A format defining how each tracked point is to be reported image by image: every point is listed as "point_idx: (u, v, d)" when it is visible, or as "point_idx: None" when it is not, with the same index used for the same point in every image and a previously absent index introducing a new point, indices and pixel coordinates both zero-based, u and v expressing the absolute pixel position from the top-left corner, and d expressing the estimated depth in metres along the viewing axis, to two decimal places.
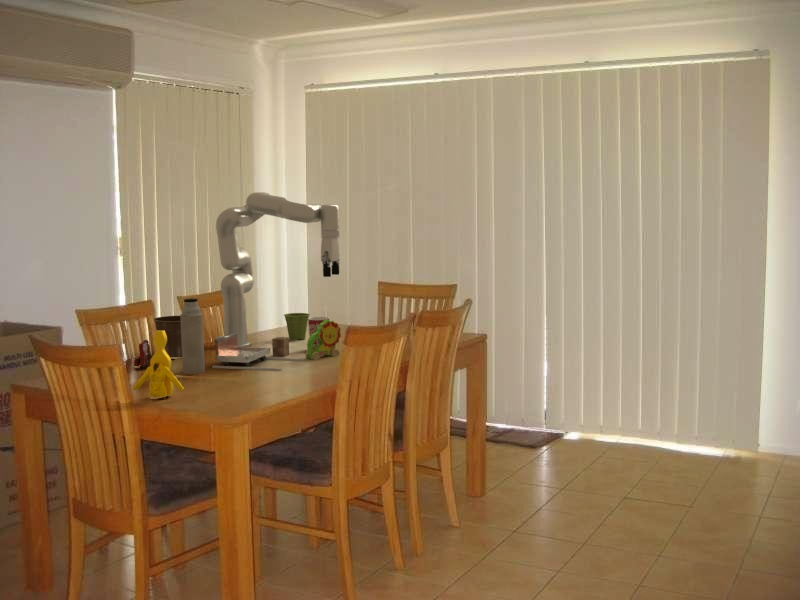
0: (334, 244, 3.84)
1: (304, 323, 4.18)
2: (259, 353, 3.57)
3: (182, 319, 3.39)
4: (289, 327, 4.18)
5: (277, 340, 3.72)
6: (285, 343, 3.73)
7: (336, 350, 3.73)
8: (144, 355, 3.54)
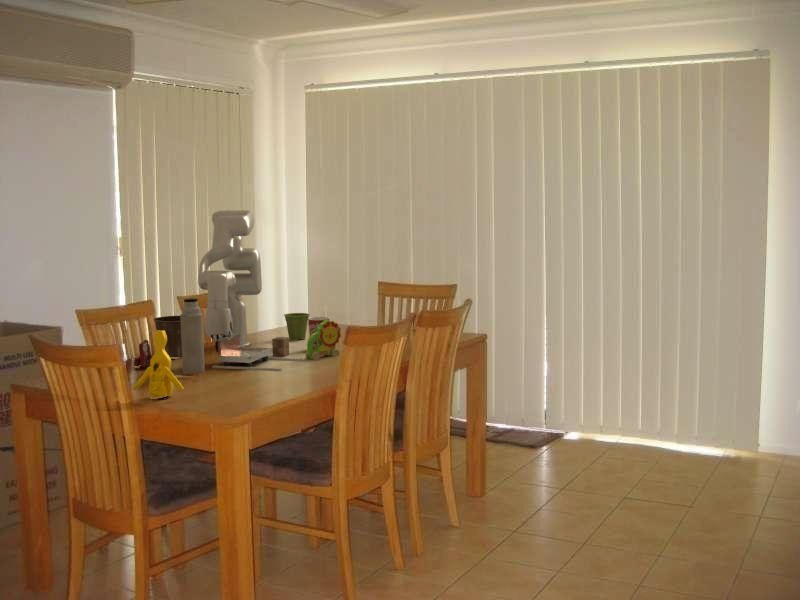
0: None
1: (304, 323, 4.18)
2: (261, 353, 3.57)
3: (182, 319, 3.39)
4: (289, 327, 4.18)
5: (277, 340, 3.72)
6: (285, 343, 3.73)
7: (336, 350, 3.73)
8: (144, 355, 3.54)
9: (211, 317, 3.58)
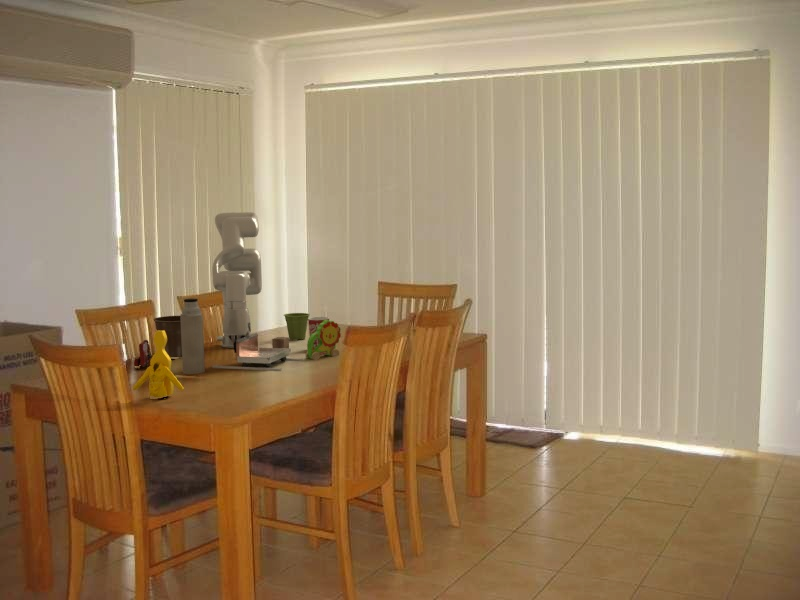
0: None
1: (304, 323, 4.18)
2: (280, 354, 3.55)
3: (182, 319, 3.39)
4: (289, 327, 4.18)
5: (277, 340, 3.72)
6: (285, 343, 3.73)
7: (336, 350, 3.73)
8: (144, 355, 3.54)
9: (229, 317, 3.56)
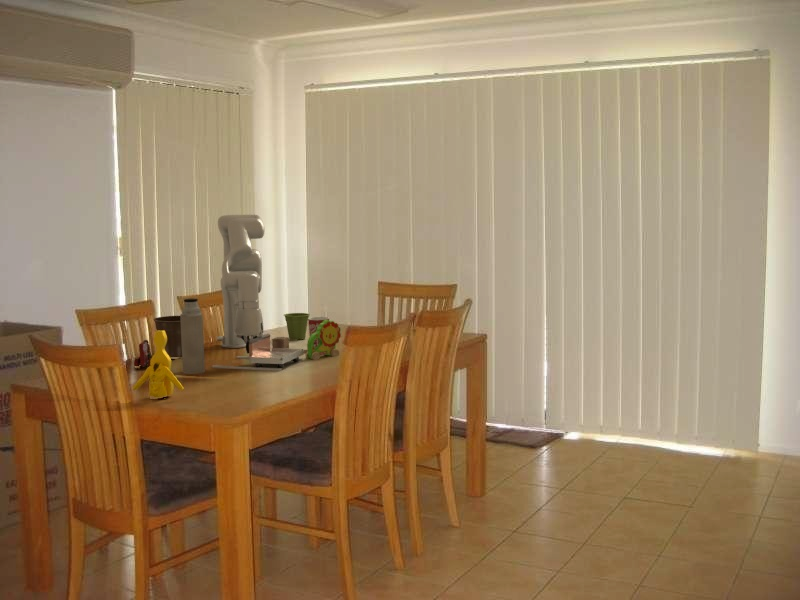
0: None
1: (304, 323, 4.18)
2: (293, 354, 3.53)
3: (182, 319, 3.39)
4: (289, 327, 4.18)
5: (277, 340, 3.72)
6: (285, 343, 3.73)
7: (336, 350, 3.73)
8: (144, 355, 3.54)
9: (242, 318, 3.54)
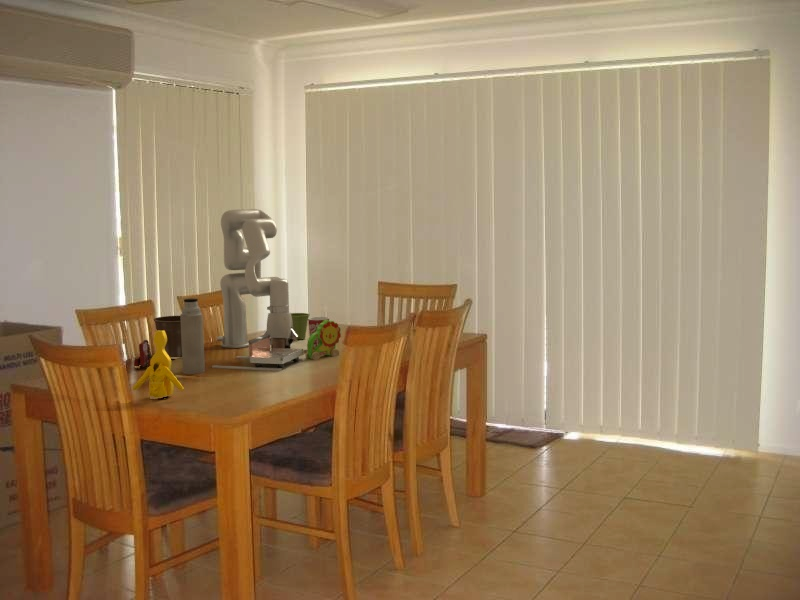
0: None
1: (304, 323, 4.18)
2: (293, 354, 3.53)
3: (182, 319, 3.39)
4: None
5: (277, 340, 3.72)
6: (285, 342, 3.73)
7: (336, 350, 3.73)
8: (144, 355, 3.54)
9: (273, 321, 3.71)
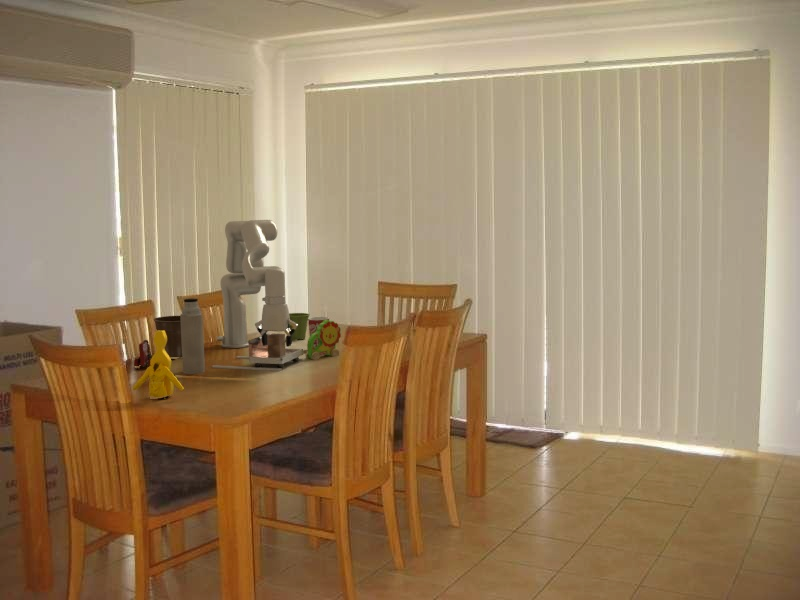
0: None
1: (304, 323, 4.18)
2: (293, 354, 3.53)
3: (182, 319, 3.39)
4: None
5: (272, 337, 3.52)
6: (281, 339, 3.52)
7: (336, 350, 3.73)
8: (144, 355, 3.54)
9: (268, 313, 3.51)
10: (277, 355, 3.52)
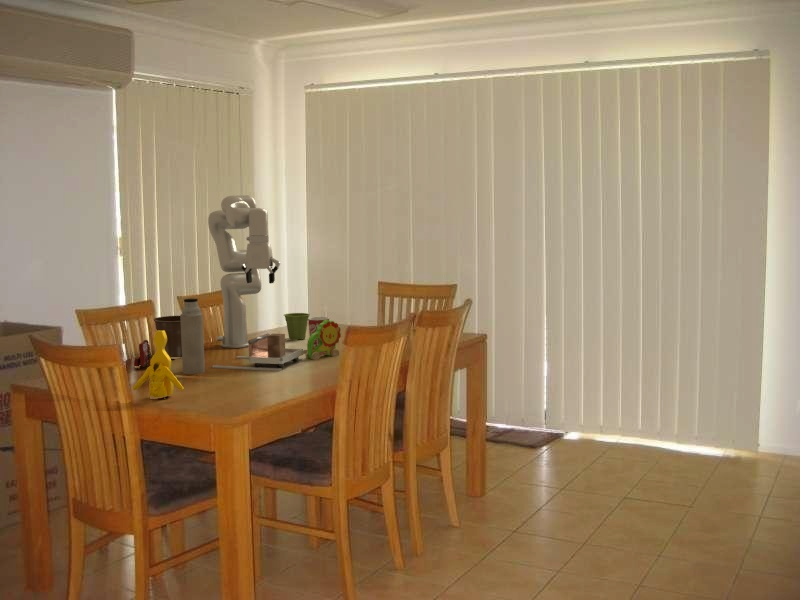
0: None
1: (304, 323, 4.18)
2: (292, 354, 3.53)
3: (182, 319, 3.39)
4: (289, 327, 4.18)
5: (272, 337, 3.52)
6: (281, 339, 3.52)
7: (336, 350, 3.73)
8: (144, 355, 3.54)
9: (252, 252, 3.68)
10: (277, 355, 3.52)
